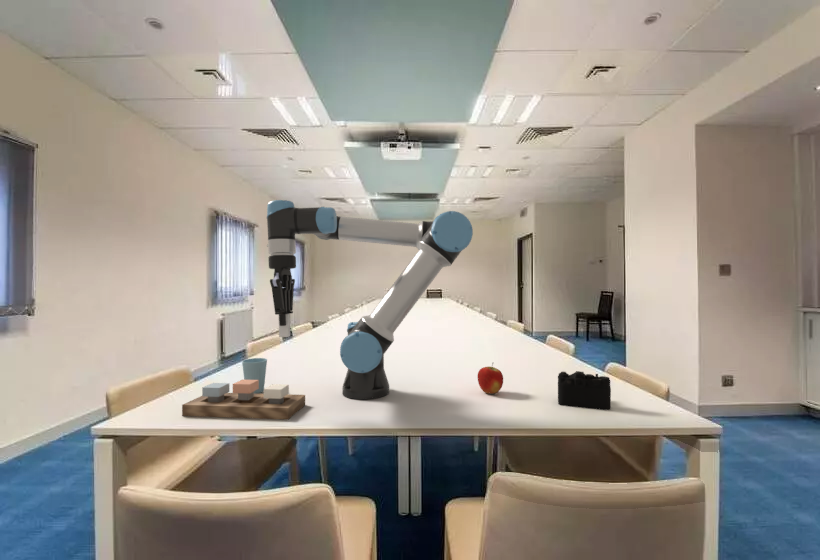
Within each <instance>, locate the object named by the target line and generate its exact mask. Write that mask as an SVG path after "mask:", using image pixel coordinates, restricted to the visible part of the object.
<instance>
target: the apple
mask: <svg viewBox="0 0 820 560" xmlns="http://www.w3.org/2000/svg"><path fill="white" fill-rule="evenodd" d="M493 365H494V362H492V365H491V366H485V367H481V368H480V369H478V370H479V371H478V372H477V383H478V386H479V387H480V389H481V390H482V392H484V393H485V394H488V395H489V394H491V395H492V394H496V393H499V391H501V389H502V387H503V385H504V374H503V373H502V371H501V370H500V369H498V368H497V367H494V366H493Z"/></svg>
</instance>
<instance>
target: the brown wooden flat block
mask: <svg viewBox="0 0 820 560" xmlns="http://www.w3.org/2000/svg"><path fill="white" fill-rule="evenodd" d="M305 406H306V394H291V393H289V394H287V395H286V396H284V402H283V403H282V404H269V398H264V393H257V394H255V393H254V397H253V398H251V399H250V400H238V393H233V392H228V393H226V394H224V400H223V401H221V402H208V397H205V396H202V395H200V396H198V397H196V398H193V399H192V400H190V401H188V402H186V403H184V404H181V416H182V417H200V418H202V417H203V418H204V417H206V418H207V417H209V418H231V419H232V418H233V419H234V418H237V419H262V420H265V419H268V420H290V419H291V417H293V416H294V415H296V414H297V413H298V412H299V411H300V410H301V409H303V408H304V407H305Z"/></svg>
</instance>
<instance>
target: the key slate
mask: <svg viewBox="0 0 820 560" xmlns="http://www.w3.org/2000/svg"><path fill="white" fill-rule="evenodd" d="M201 389H202V395H201V396H205V397H208V402H221V401H223V400H224V394H226V393H230V382H212V383H210V384H207V385H205V386H203V387H202V388H201Z"/></svg>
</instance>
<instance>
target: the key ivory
mask: <svg viewBox="0 0 820 560" xmlns="http://www.w3.org/2000/svg"><path fill="white" fill-rule="evenodd" d="M263 394H264V398H269V404H282V403H283V402H284V396H286V395H287V394H290V385H289V384H275V383H274V384H273V383H271V384H270V385H268V386H266V387H264V391H263Z"/></svg>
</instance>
